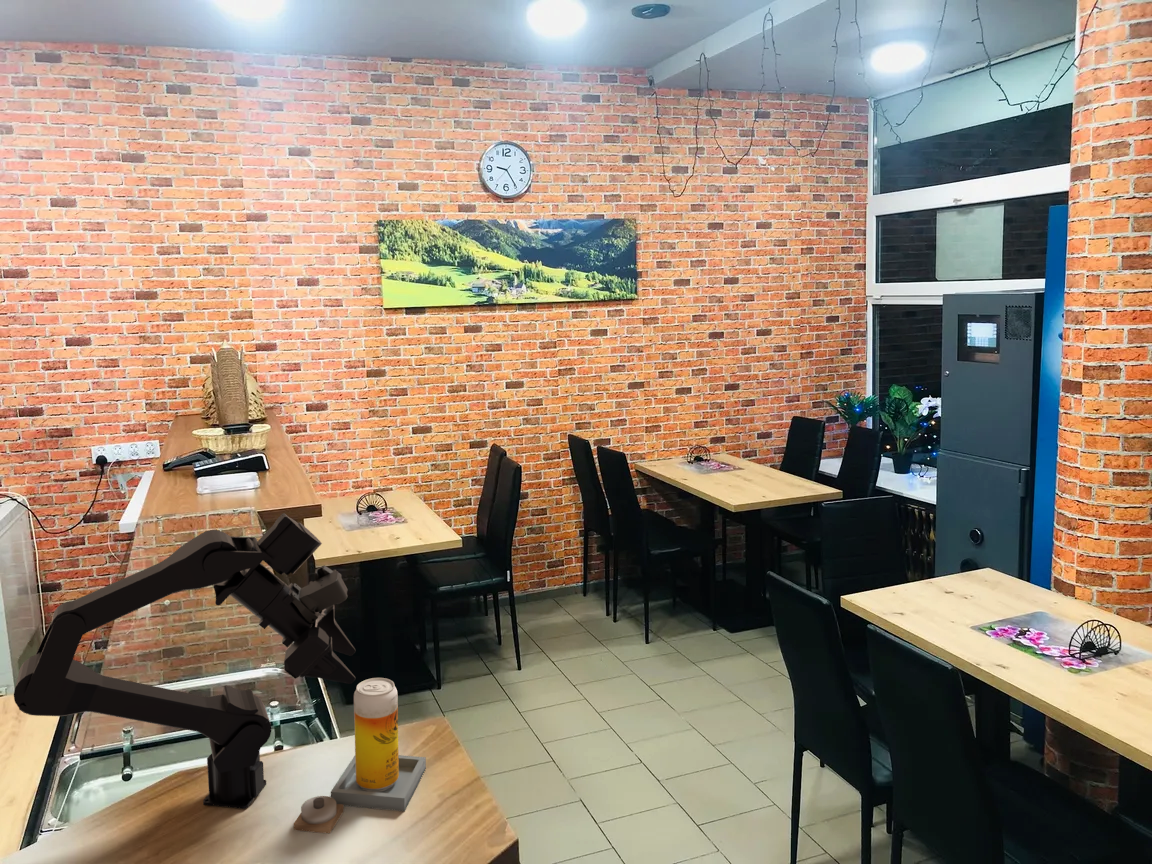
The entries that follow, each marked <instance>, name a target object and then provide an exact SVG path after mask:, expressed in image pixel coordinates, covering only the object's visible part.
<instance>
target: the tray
mask: <svg viewBox="0 0 1152 864" xmlns="http://www.w3.org/2000/svg"><path fill="white" fill-rule="evenodd" d="M398 757H399V777H398V779H397V780H396V782H395V783H394V785H393V786H392V787H390V788H389V789H387V790H384V791H381V792H368V791H365V790H363V789H362V788H361V787H360V785H358V784H357V782H356V766H355V755H354V756H353V757H352V759H351V761H349V763H348V765H347V767H346V768H345V769H344V771H343V773H342V775H341V776H340V777H339V778H338V780H337V782H336V783H335V784H334V785H333V788H332V789H331V791H330V797H331V798H333V799H334V800H335V801H336V804H342V805H344V807H350V808H351V807H353V808H365V809H374V810H375V809H376V810H387V811H396V812H397V811H398V812H399V811H400V812H406V810H407V808H408V806H409V804H410V802H411V800H412V797H414V793H415V792H416V790H417V788H418V786H419V784H420V781H421V780H422V778H423V776H424V774H425V772H426V770H425V769H427V763H426V762H427V758H426V757H425V756H415V755H414V756H413V755H405V754H404V755H403V754H401V755H400V754H398ZM424 771H425V772H424ZM423 773H424V774H423ZM422 775H423V776H422ZM421 777H422V778H421ZM420 779H421V780H420Z"/></svg>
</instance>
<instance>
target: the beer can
mask: <svg viewBox="0 0 1152 864" xmlns="http://www.w3.org/2000/svg"><path fill="white" fill-rule="evenodd" d="M398 694H399V693H398V690H397V687H396V686H395V682H394V681H393V680H391V679H389V678H386V677H385V678H384V677H372V678H368V679H365V680H363V681H361V682H359V683H358V684H357V685H356V689H355V691H354V693H353V717H354V720H353V722H354V753H355V754H354V756H355V766H356V782H357V784H358V785H360V787H361V788H362V789H363V790H365V791H368V792H381V791H384V790H387V789H389V788H390V787H392V786H393V785H394V783H395V782H396V780H397V779H398V777H399V757H398V755H399V707H398V706H399V704H398V703H399V702H398V701H399V700H398V699H399V698H398Z"/></svg>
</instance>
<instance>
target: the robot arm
mask: <svg viewBox="0 0 1152 864" xmlns="http://www.w3.org/2000/svg"><path fill="white" fill-rule="evenodd" d="M322 544H323V543H322V542H321V540H320V539H319V538H318V537H317V536H316V535H315V534H313V533H312V531H310V530H309V528H307V527H306V526H305V525H304V524H303V523H302V522H297V521H296V520H295V519H293V518H291V517H289V515H287V514H286V513H281V514H280V516H278V518H277V519H276V520H275V522H274V523H273V525H271V526H270V527H269V529H268V530H267V531H266V532H265V533H264V534H263V535H262V536H261V537H260V538H259V539H257V537H255V536H235V535H234V536H231V535H230V534H227V533H226V532H224V531H221V530H217V529H210V530H206V531H204V532H202V533H200V534H198V535H196V536H195V537H194V538H192V539H190V540H189V541H188V542H185V543H184V544H183V545H181V546H180V547H179V548H177V549H176V550H175V551H174V552H173V553H171V554H170V555H169V556H168V557H167V558H165V559H164V560H162V561H160V562H158V563H155V564H154V565H151V566H149V567H147V568H145V569H143V570H140V571H138V572H136V573H133V574H131V575H129V576H127V577H124V578H122V579H120V580H118V581H115V582H113V583H111V584H108V585H106V586H104V587H102V588H99V589H97V590H94V591H92V592H90V593H88V594H85V595H84V596H80V597H78V598H77V599H74V600H71V601H66V602H63V603H61V604H60V605H58V606H57V607H56V608H55V610H54V612H53V614H52V620H51V622H50V624H49V626H48V628H47V630H46V631H45V634H44V636H43V638H42V640H41V642H40V644H39V646H38V648H37V651H36V653H35V654H34V655H32V656H30V657H28V658H27V659H26V660H24V662H23V663H22V665H21V666H20V668H19V670H18V674H17V679H16V684H15V688H14V691H13V692H14V693H13V699H14V703H15V704H16V706H17V707H18V710H19V711H20V712H23V713H24V714H26V715H29V716H35V717H37V716H39V717H40V716H41V717H43V716H44V717H64V716H65V717H66V716H71V715H75V714H77V715H78V714H82V713H95V714H99V715H100V714H101V715H106V716H110V717H117V718H122V719H127V720H133V721H138V722H143V723H148V724H149V723H150V724H155V725H159V726H164V727H165V726H166V727H169V728H176V729H181V730H185V731H192V732H196V733H199V734H201V735H203V736H205V737H206V738H207V739H208V740H209V741H208V742H209V744H210V751H211V753H210V755H209V756H208V757H206V763H207V765H206V766H207V779H208V780H207V781H208V782H207V783H208V785H207V786H208V795H206V797H204V799H203V800H202V805H204V806H211V807H222V808H231V809H232V808H233V809H247V808H248V807H249V806H250V805H251V804H252V802H253V801H254V800H255V799H256V798H257V797H258V795H259V794H260V793H261V791H263V789H264V788H265V787H266V785H267V780H266V779H265V775H264V762H263V761H262V760H261V757H260V756H261V754H260V753H261V752H260V751H261V748H262V747H263V746H265V744H267V742H268V741H269V739H270V738H271V735H272V723H271V721H270V718H269V714H268V712H267V708H266V705H265V704H264V702H263V700H262V698H260V697H259V696H257V695H256V694H254V693H253V690H252V689H246V690H245V689H238V688H236V687H234V686H230V685H224V686H223V690H222V693H221V694H219V695H218V694H217V695H212V696H204V695H198V694H194V693H189V692H183V691H179V690H175V689H169V688H165V687H160V686H155V685H150V684H146V683H141V682H140V683H139V682H136V681H130V680H127V679H126V680H125V679H121V678H116V677H112V676H106V675H102V674H100V673H97V672H96V671H95V670H93V669H91V668H90V667H89V666H86V665H85V664H83V663H82V662H80V661H78V660H77V659H76V660H75V659H74V658H75V655H76V653H77V650H78V647H79V645H80V642H81V640H82V637H83V636H84V635H85V634H86V633H89V632H91V631H93V630H96V629H98V628H100V627H103V626H104V625H106V624H108V623H111V622H113V621H115V620H117V619H118V620H119V618H122V617H125V616H127V615H128V614H131V613H133V612H135V611H137V610H139V609H142V608H144V607H146V606H148V605H151V604H153V603H155V602H157V601H159V600H162V599H164V598H166V597H169V596H170V595H172V594H176V593H180V592H183V591H191V590H200V589H203V588H207V587H211V586H212V587H213V589H214V590H213V591H214V593H215V601H214V603H215V605H216V606H221V605H222V604H223V603H224V602H225V601H226V600H227V599H228V598H229V596H230V597H232V598H233V600H235V601H237V602H238V603H239V604H240V605H242V607H244V608H245V609H247V610H248V611H249V612H250V613H252V614H253V615H254V616H255V617H257V618H258V619H259V623H258V626H260V627H261V628H262V629H263V630H265V629H266V628H268V627H269V628H270V629H272V631H274V632H275V633H276V634H278V635H279V636H281V638H282V641H281V644H282V645H283V646H285V647H286V648H287V649H286V650H285V654H284V655H285V656H284V660H283V661H284V662H283V667H284V668H283V669H284V672H285V673H288V674H289V675H290V676H291V677H293V679H298V678H303V679H304V677H308V678H317V679H324V680H328V681H332V682H338V683H343V684H349V685H351V684H353V683H354V681H356V676H355V675H354V674H353V673H352V671H351V670H350V669H349V668H348V667H347V666H346V664H344V662H343V661H342V660H341V659H340V658H339V656H337V654H336V653H335V652H334V651H336V652H338V653H340V654H344V655H346V656H349V657H352V656H353V655H354V654H355V653H356V648H355V646H354V645H353V644H352V643H351V641H350V640H349V638H348V636H347V635H346V634H345V632H344V631H343V630H342V628H341V627H340V625H339V624H338V622H337V620H336V619H335V605H336V604H337V605H340V604H341V603H343V602H344V601H346V600H347V598H348V596H349V595H348V588H347V586H346V583H345V582H344V580H343V578H342V574H341V573H340V572H339V570H338V571H337V569H333V570H332V569H331V568H329V567H328V566H326V565H321V566H320V567H318V568H315V571H314V581H313V580H310V581H309V584H307V585H305V586H304V587H300V585H298V584H297V583H292V582H290V584H289V585H288V584H287V583H286V582H285V581H283V580H281V578H279V576H277V575H276V574H275V573H278V574H279V575H281V576H283V575H286V576H289V574H293V575H294V574H295V573H296V572H297V571H298V570H299V569H300V568H301V566H303V564H304V563H306V561H307V560H308V559H309V558H310V557H311V556H312V555H313V554H314V553H315V551H317V550H318V548H319V547H321V545H322ZM262 562H264V563H265V564H267V566H268V567H270V568H271V569H273V570H274V572H275V573H273V572H272V571H271V570H269V568H267V566H265V565H264V564H262Z"/></svg>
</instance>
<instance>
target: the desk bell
mask: <svg viewBox="0 0 1152 864" xmlns="http://www.w3.org/2000/svg"><path fill="white" fill-rule="evenodd" d="M344 808H345V806H344V805H342V804H336V801H335V800H334V799H333V798H331V796H327V795H317V796H314V797H311V798H309V799H307V800H306V801H304V802H303V803H302V804H301V806H300V812H299V813H300V814H299V815H298V816H297V818H296V819H295V821H294V822H293V830H294V831H300V832H307V833H308V832H309V833H310V832H312V833H320V834H331V833H332V831H333V830H334V828H335V827H336V825H337V823H338V821H339V819H341V817H342V815H343V813H344V812H345V811H344V810H345V809H344Z"/></svg>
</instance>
